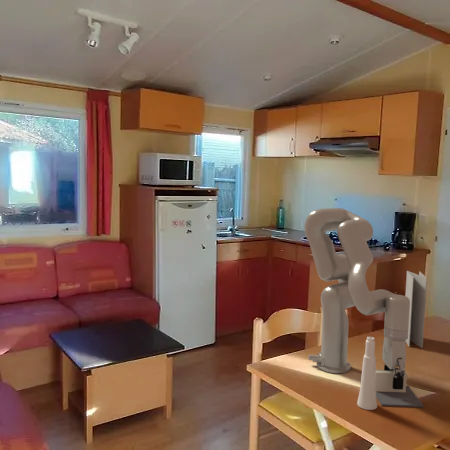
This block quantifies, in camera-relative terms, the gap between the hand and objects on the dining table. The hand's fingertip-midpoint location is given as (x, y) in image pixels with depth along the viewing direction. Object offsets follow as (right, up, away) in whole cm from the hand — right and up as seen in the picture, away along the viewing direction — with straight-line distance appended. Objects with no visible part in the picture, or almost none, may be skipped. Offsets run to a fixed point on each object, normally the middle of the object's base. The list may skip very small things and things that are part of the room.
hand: (393, 382), depth 155 cm
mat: (0, -4, -3) cm, 4 cm away
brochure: (+26, +1, +48) cm, 55 cm away
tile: (-1, -3, 0) cm, 3 cm away
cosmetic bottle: (-11, -4, -9) cm, 15 cm away
